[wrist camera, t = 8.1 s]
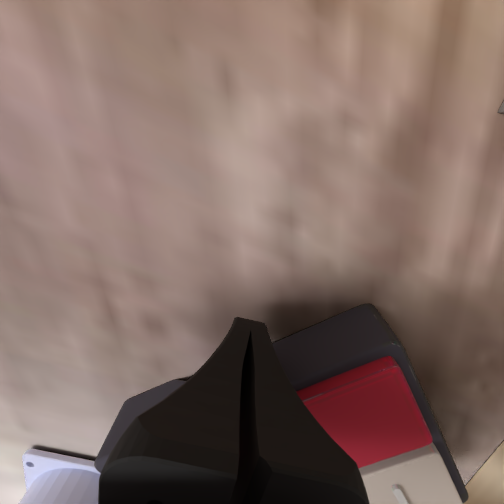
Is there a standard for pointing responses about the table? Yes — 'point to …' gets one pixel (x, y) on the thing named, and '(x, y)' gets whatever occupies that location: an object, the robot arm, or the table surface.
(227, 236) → the table surface
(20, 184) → the table surface
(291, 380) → the calculator
